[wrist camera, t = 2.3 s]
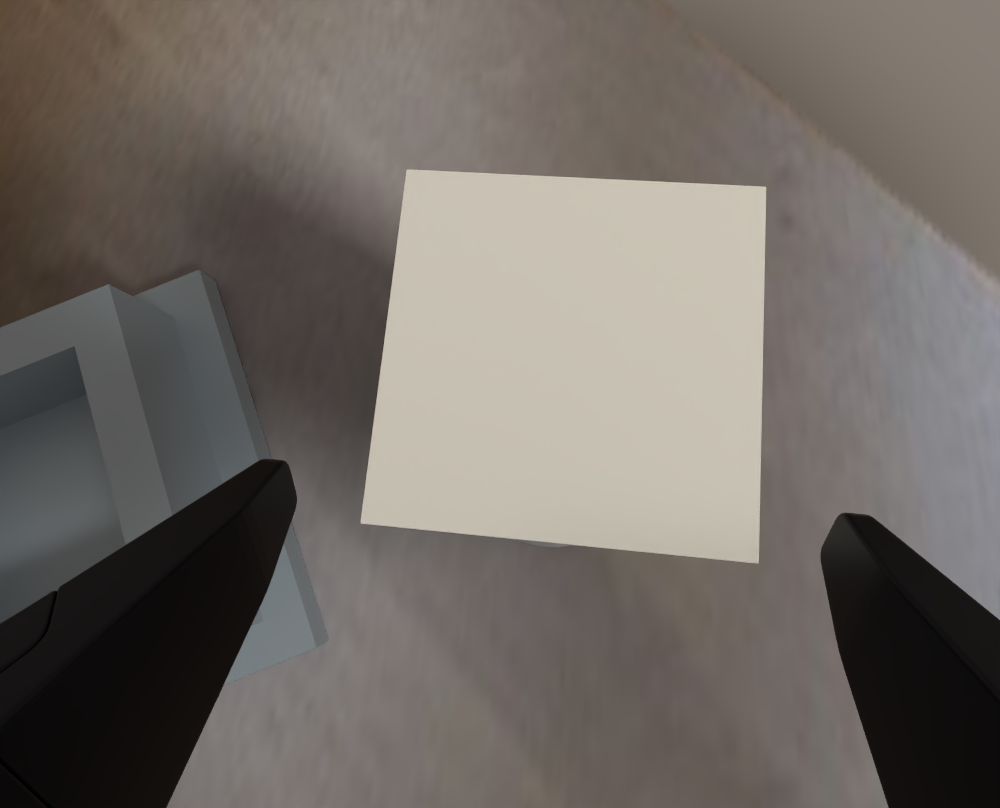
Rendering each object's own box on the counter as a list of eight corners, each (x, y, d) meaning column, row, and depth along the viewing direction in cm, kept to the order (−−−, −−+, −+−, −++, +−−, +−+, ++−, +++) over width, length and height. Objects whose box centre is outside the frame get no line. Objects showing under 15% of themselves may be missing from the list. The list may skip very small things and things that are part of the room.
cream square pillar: (632, 552, 18) (844, 659, 6) (455, 534, 19) (273, 594, 6) (641, 378, 19) (842, 123, 6) (473, 365, 20) (348, 104, 7)
